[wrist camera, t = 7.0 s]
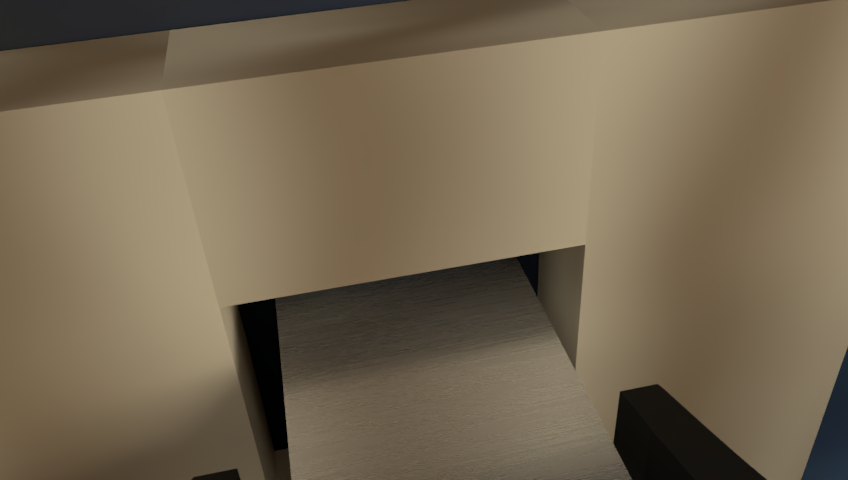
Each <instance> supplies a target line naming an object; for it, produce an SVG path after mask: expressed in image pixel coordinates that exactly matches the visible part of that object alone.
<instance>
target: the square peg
mask: <svg viewBox="0 0 848 480" xmlns="http://www.w3.org/2000/svg"><path fill="white" fill-rule="evenodd" d="M275 301H276V312H277V324H278V335H279V346H280V358H281V369H282V380H283V391H284V403H285V414H286V425H287V437H288V448H289V459H290V470H291V480H632V479H631V477H630V475H629V473H628V471H627V469H626V467H625V465H624V463H623V461H622V459H621V457H620V455H619V454H618V452H617V450H616V448H615V446H614V444H613V442H612V440H611V438H610V436H609V434H608V432H607V430H606V428H605V427H604V425H603V423H602V421H601V419H600V417H599V415H598V413H597V411H596V409H595V407H594V405H593V403H592V401H591V400H590V398H589V396H588V394H587V392H586V390H585V388H584V386H583V384H582V382H581V380H580V378H579V376H578V375H577V373H576V371H575V369H574V367H573V365H572V363H571V361H570V359H569V357H568V355H567V353H566V351H565V349H564V348H563V346H562V344H561V342H560V340H559V338H558V336H557V334H556V332H555V330H554V328H553V326H552V324H551V322H550V321H549V319H548V317H547V315H546V313H545V311H544V309H543V307H542V305H541V303H540V301H539V299H538V297H537V296H536V294H535V292H534V290H533V288H532V286H531V284H530V282H529V280H528V278H527V276H526V274H525V272H524V270H523V269H522V267H521V265H520V263H519V261H518V259H517V257H511V258H505V259H499V260H493V261H488V262H482V263H476V264H470V265H464V266H459V267H453V268H447V269H441V270H435V271H430V272H424V273H418V274H412V275H406V276H401V277H395V278H389V279H383V280H378V281H372V282H366V283H360V284H354V285H349V286H343V287H337V288H331V289H325V290H320V291H314V292H308V293H302V294H296V295H291V296H285V297H279V298H275Z"/></svg>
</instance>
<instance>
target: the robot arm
mask: <svg viewBox="0 0 848 480" xmlns="http://www.w3.org/2000/svg"><path fill="white" fill-rule="evenodd" d="M613 444H614V446H615V448H616V450H617V452H618V454H619V455H620V457H621V459H622V461H623V463H624V465H625V467H626V469H627V471H628V473H629V475H630V477H631V479H632V480H767V479H766V478H765V477H763V476H762V475H761V474H760V473H759V472H757V471H756V470H755V469H754V468H753V467H751V466H750V465H749V464H748V463H747V462H746V461H744V460H743V459H742V458H741V457H740V456H739V455H737V454H736V453H735V452H734V451H733V450H732V449H731V448H729V447H728V446H727V445H726V444H725V443H724V442H723V441H722V440H720V439H719V438H718V437H717V436H716V435H715V434H714V433H712V432H711V431H710V430H709V429H708V428H707V427H706V426H705V425H704V424H702V423H701V422H700V421H699V420H698V419H697V418H696V417H695V416H694V415H692V414H691V413H690V412H689V411H688V410H687V409H686V408H685V407H684V406H683V405H681V404H680V403H679V402H678V401H677V400H676V399H675V398H674V397H673V396H672V395H670V394H669V393H668V392H667V391H666V390H665V389H664V388H663V387H661V386H660V385H659V384H654V385H649V386H644V387H639V388H635V389H630V390H625V391H620V395H619V403H618V410H617V418H616V426H615V434H614V442H613ZM191 480H241V479H240V476H239V473H238V469H237V468H236V469H231V470H226V471H221V472H216V473H211V474H206V475H201V476H196V477H193V478H192V479H191Z"/></svg>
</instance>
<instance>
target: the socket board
mask: <svg viewBox="0 0 848 480" xmlns="http://www.w3.org/2000/svg"><path fill="white" fill-rule="evenodd" d="M534 253H539V264H538V291H537V297H538V299H539V301H540V303H541V305H542V307H543V309H544V311H545V313H546V315H547V317H548V319H549V321H550V322H551V324H552V326H553V328H554V330H555V332H556V334H557V336H558V338H559V340H560V342H561V344H562V346H563V348H564V349H565V351H566V353H567V355H568V357H569V359H570V361H571V363H572V365H573V367H574V369H575V371H576V373H577V375H578V376H579V378H580V380H581V382H582V384H583V386H584V388H585V390H586V392H587V394H588V396H589V398H590V400H591V401H592V403H593V405H594V407H595V409H596V411H597V413H598V415H599V417H600V419H601V421H602V423H603V425H604V427H605V428H606V430H607V432H608V434H609V436H610V438H611V440H612V442H614V434H615V426H616V418H617V410H618V403H619V395H620V391H625V390H630V389H635V388H639V387H644V386H649V385H654V384H659V385H660V386H661V387H663V388H664V389H665V390H666V391H667V392H668V393H669V394H670V395H672V396H673V397H674V398H675V399H676V400H677V401H678V402H679V403H680V404H681V405H683V406H684V407H685V408H686V409H687V410H688V411H689V412H690V413H691V414H692V415H694V416H695V417H696V418H697V419H698V420H699V421H700V422H701V423H702V424H704V425H705V426H706V427H707V428H708V429H709V430H710V431H711V432H712V433H714V434H715V435H716V436H717V437H718V438H719V439H720V440H722V441H723V442H724V443H725V444H726V445H727V446H728V447H729V448H731V449H732V450H733V451H734V452H735V453H736V454H737V455H739V456H740V457H741V458H742V459H743V460H744V461H746V462H747V463H748V464H749V465H750V466H751V467H753V468H754V469H755V470H756V471H757V472H759V473H760V474H761V475H762V476H763V477H765V478H766V479H767V480H801V478H802V476H803V473H804V470H805V467H806V464H807V461H808V458H809V456H810V453H811V450H812V447H813V444H814V441H815V439H816V436H817V433H818V430H819V427H820V424H821V421H822V419H823V416H824V413H825V410H826V407H827V404H828V401H829V399H830V396H831V393H832V390H833V387H834V384H835V382H836V379H837V376H838V373H839V370H840V367H841V364H842V362H843V359H844V356H845V353H846V350H847V347H848V0H410V1H402V2H394V3H386V4H378V5H370V6H362V7H353V8H345V9H337V10H329V11H321V12H313V13H305V14H297V15H289V16H281V17H273V18H265V19H257V20H248V21H240V22H232V23H224V24H216V25H208V26H200V27H192V28H184V29H176V30H168V31H160V32H152V33H143V34H135V35H127V36H119V37H111V38H103V39H95V40H87V41H79V42H71V43H63V44H55V45H47V46H38V47H30V48H22V49H14V50H6V51H0V480H191V479H192V478H193V477H196V476H201V475H206V474H211V473H216V472H221V471H226V470H231V469H236V468H237V469H238V473H239V476H240V479H241V480H291V470H290V459H289V448H287V449H282V450H277V451H274V447H273V443H272V439H271V435H270V431H269V427H268V423H267V419H266V415H265V411H264V407H263V403H262V399H261V395H260V391H259V387H258V383H257V379H256V375H255V371H254V367H253V363H252V359H251V355H250V351H249V346H248V342H247V338H246V334H245V330H244V326H243V322H242V318H241V314H240V310H239V306H238V304H244V303H250V302H256V301H262V300H267V299H273V298H279V297H285V296H291V295H296V294H302V293H308V292H314V291H320V290H325V289H331V288H337V287H343V286H349V285H354V284H360V283H366V282H372V281H378V280H383V279H389V278H395V277H401V276H406V275H412V274H418V273H424V272H430V271H435V270H441V269H447V268H453V267H459V266H464V265H470V264H476V263H482V262H488V261H493V260H499V259H505V258H511V257H517V256H522V255H528V254H534Z"/></svg>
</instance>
